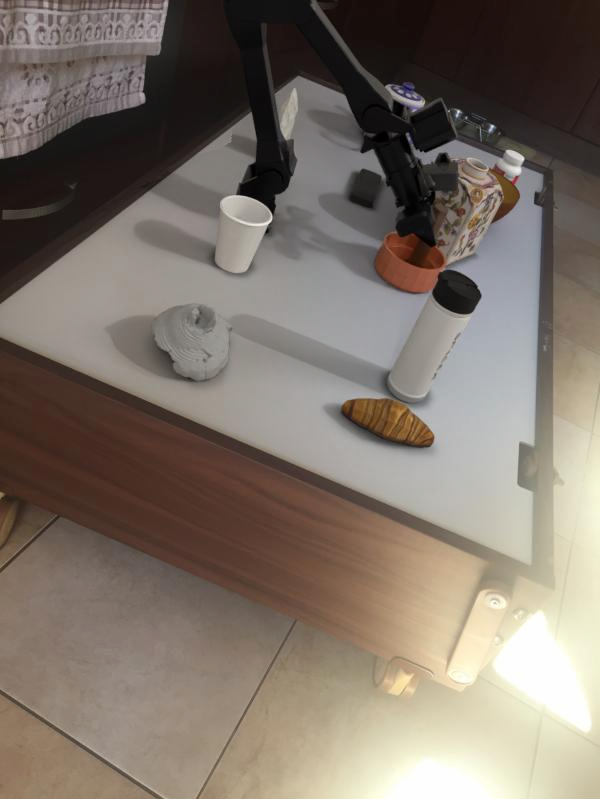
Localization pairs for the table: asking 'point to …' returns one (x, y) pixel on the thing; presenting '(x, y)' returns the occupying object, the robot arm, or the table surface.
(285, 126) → the stone tool
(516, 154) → the pill bottle
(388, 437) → the croissant
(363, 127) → the robot arm
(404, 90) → the teapot
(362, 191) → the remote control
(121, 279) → the table surface
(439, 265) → the orange round container
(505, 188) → the bowl
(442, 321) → the travel mug
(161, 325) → the grey clay mound
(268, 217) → the dixie cup
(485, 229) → the decorative jar
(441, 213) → the brown flanged peg
